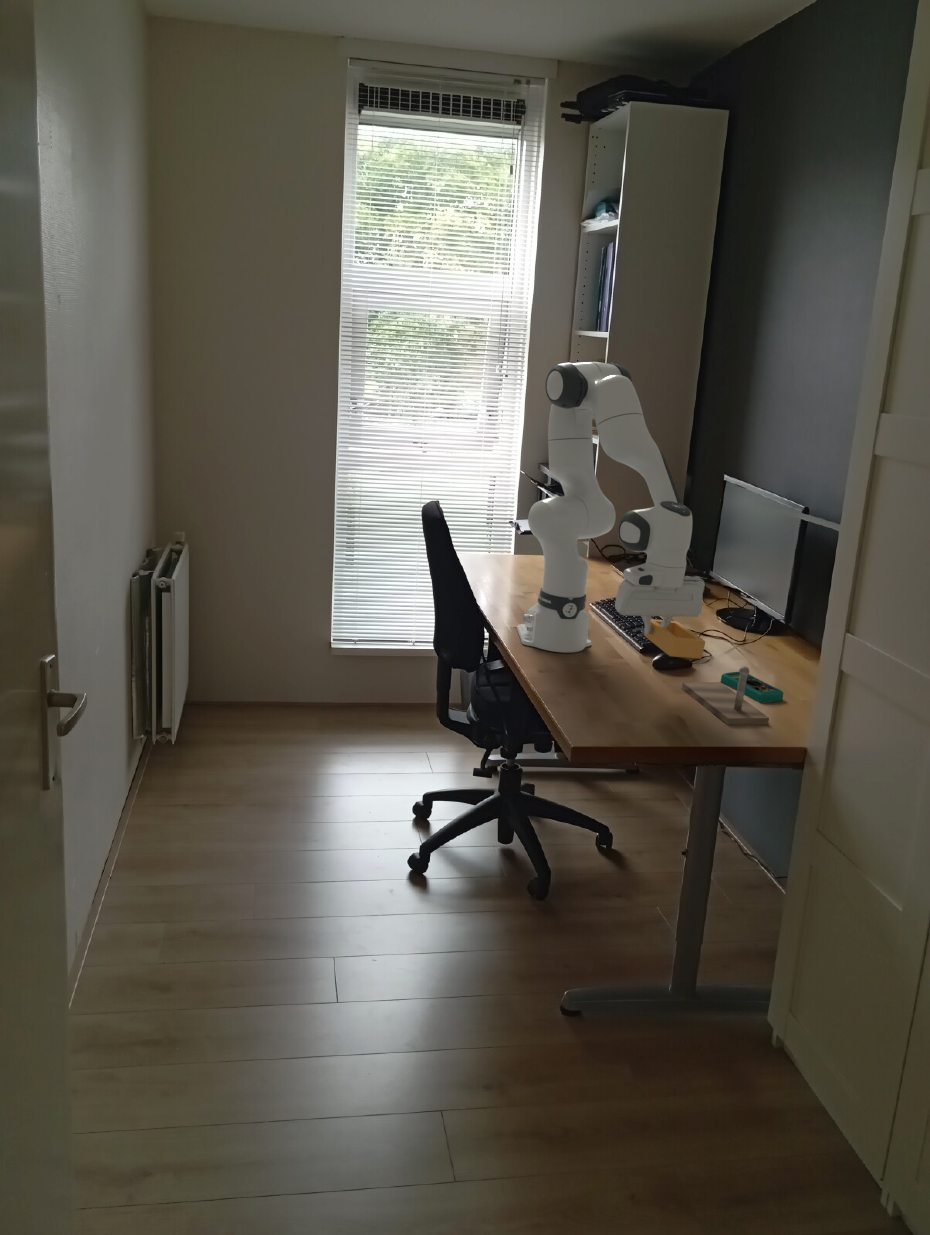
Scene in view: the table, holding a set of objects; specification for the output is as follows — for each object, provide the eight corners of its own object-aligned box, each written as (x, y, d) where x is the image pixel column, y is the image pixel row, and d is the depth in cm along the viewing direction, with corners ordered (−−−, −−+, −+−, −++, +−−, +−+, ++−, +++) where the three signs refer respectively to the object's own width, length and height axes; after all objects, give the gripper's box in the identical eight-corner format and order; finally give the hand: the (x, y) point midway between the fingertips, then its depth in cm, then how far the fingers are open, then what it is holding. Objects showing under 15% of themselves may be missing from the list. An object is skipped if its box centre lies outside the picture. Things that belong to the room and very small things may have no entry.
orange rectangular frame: (643, 635, 235) (647, 618, 234) (673, 637, 238) (677, 621, 237) (669, 656, 223) (673, 639, 222) (701, 658, 225) (705, 641, 224)
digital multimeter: (760, 705, 236) (763, 693, 235) (718, 683, 248) (720, 671, 248) (784, 702, 239) (786, 691, 238) (741, 680, 252) (743, 669, 251)
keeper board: (681, 688, 241) (689, 641, 237) (719, 688, 243) (727, 642, 240) (727, 724, 220) (736, 674, 217) (768, 724, 223) (777, 674, 220)
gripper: (699, 572, 234) (689, 629, 238) (617, 569, 228) (608, 628, 232) (712, 580, 228) (701, 638, 232) (628, 577, 222) (618, 637, 226)
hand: (654, 633), depth 232 cm, fingers closed on orange rectangular frame
